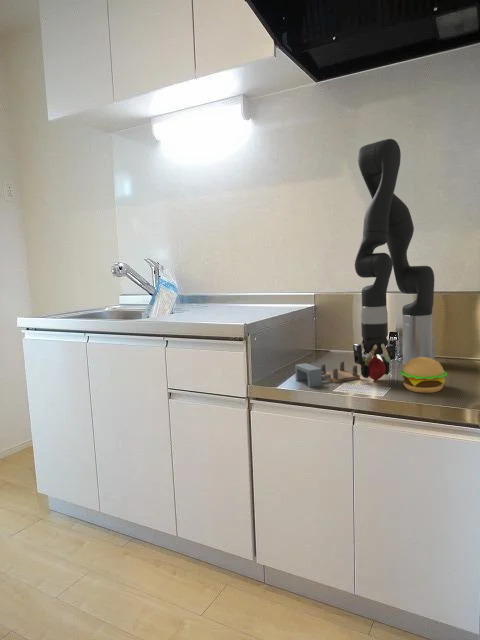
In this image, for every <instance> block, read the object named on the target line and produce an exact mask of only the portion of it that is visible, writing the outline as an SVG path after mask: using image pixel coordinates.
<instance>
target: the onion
mask: <svg viewBox="0 0 480 640" xmlns="http://www.w3.org/2000/svg"><path fill="white" fill-rule="evenodd" d="M367 366H368V367H369V377H368V378H370V379H371V380H373V381H375V382H376V381H379V380H380V379H381V378H382V377H384V375H385V371H386V367H385V365H384V363H383V360H382V359H380V358H379V357H378V354H377V355H374V356H372V359H370V361H369V363H368V365H367Z"/></svg>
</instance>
